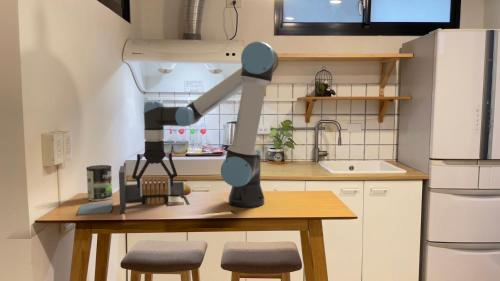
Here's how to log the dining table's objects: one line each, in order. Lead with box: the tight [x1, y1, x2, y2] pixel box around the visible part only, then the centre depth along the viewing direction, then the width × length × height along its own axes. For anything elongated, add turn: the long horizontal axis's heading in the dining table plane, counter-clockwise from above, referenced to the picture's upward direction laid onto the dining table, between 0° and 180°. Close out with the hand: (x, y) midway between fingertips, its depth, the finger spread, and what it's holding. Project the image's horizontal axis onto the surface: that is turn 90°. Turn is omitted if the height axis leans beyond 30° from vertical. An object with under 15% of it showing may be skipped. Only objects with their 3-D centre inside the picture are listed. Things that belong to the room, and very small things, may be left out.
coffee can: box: [86, 164, 113, 202], centre depth 171 cm, size 10×10×14 cm
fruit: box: [183, 182, 192, 196], centre depth 175 cm, size 11×10×8 cm
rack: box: [118, 165, 190, 215], centre depth 157 cm, size 26×16×16 cm, turn 106°
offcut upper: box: [168, 196, 185, 206], centre depth 160 cm, size 6×10×1 cm, turn 20°
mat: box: [76, 202, 114, 216], centre depth 154 cm, size 12×14×1 cm
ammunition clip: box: [141, 176, 169, 205], centre depth 157 cm, size 11×2×12 cm, turn 98°
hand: (155, 194), depth 157 cm, fingers closed on ammunition clip, 10 cm apart
